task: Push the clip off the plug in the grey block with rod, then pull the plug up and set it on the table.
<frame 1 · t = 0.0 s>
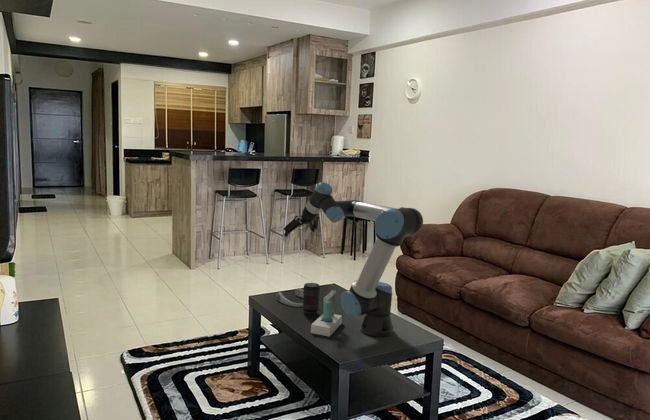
hand: (294, 239, 255), 36 cm above the table, tool tilted 35°, fingers open, 13 cm apart
grey block with rod: (326, 328, 233), on the table
headphones: (297, 302, 269), on the table
clip: (329, 295, 233), point 15 cm above the table, hinge at 0.0°
plug: (326, 324, 233), point 2 cm above the table, touching grey block with rod
camera lens: (310, 313, 252), on the table
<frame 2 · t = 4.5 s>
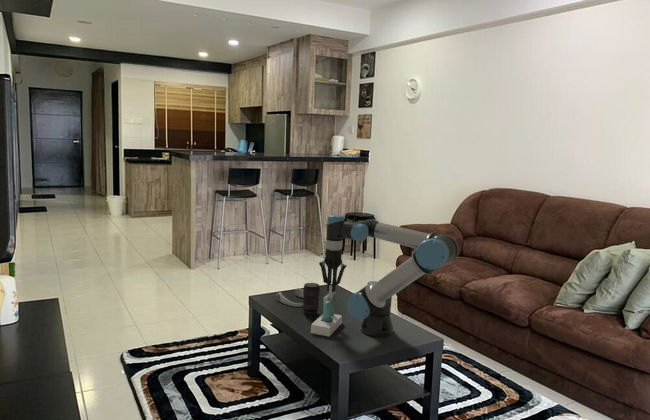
hand: (330, 298, 231), 15 cm above the table, tool pointing down, fingers closed
clip: (329, 295, 233), point 15 cm above the table, hinge at -0.7°, touching gripper
everything else where it was.
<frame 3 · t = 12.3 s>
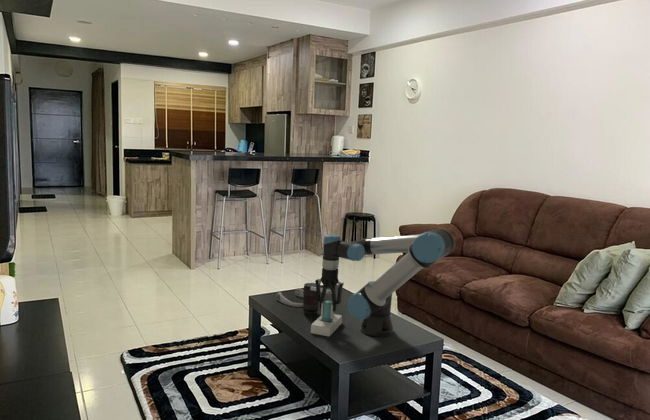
hand: (327, 316, 233), 6 cm above the table, tool pointing down, fingers closed on plug, 4 cm apart
clip: (323, 290, 240), point 15 cm above the table, hinge at -96.8°
plug: (326, 324, 233), point 2 cm above the table, touching gripper
everything else where it was.
when the fingers open (5 cm above the table, at t = 19.2 s): plug drops 1 cm, on the table.
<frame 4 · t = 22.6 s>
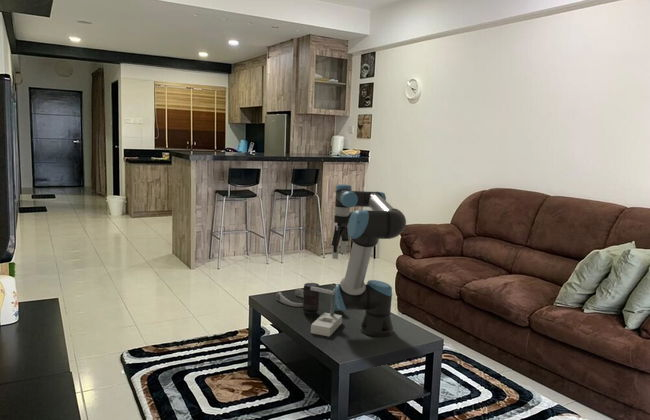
hand: (339, 256, 255), 29 cm above the table, tool pointing down, fingers open, 13 cm apart
plug: (335, 310, 259), on the table
everything else where it was.
at the end: clip at -97° (first picture: +0°); plug inside the target area (0.1 cm from its centre), on the table; the gripper is holding nothing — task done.
